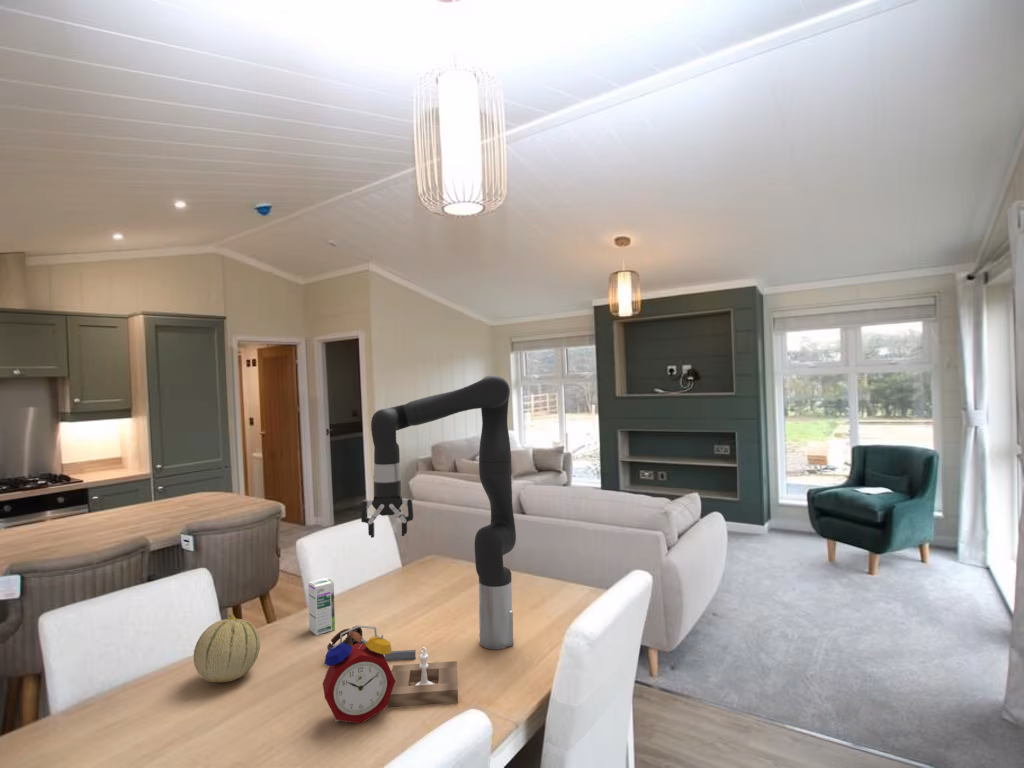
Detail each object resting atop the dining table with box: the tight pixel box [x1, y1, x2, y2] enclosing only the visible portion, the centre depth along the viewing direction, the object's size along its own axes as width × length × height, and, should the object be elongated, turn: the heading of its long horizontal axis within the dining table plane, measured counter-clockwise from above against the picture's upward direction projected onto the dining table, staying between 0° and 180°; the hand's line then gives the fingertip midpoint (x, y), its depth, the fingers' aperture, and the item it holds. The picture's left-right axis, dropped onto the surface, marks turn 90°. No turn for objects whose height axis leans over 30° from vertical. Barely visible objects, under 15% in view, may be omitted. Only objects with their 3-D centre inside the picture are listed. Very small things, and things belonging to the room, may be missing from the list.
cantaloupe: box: [193, 613, 261, 684], centre depth 136 cm, size 15×15×15 cm
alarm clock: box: [322, 624, 395, 724], centre depth 121 cm, size 15×9×20 cm, turn 114°
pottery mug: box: [326, 625, 365, 651], centre depth 148 cm, size 12×10×8 cm
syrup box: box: [307, 577, 336, 636], centre depth 163 cm, size 6×6×14 cm
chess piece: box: [414, 646, 434, 686], centre depth 130 cm, size 5×5×10 cm
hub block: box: [386, 660, 459, 709], centre depth 130 cm, size 16×13×3 cm
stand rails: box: [384, 649, 417, 672], centre depth 140 cm, size 8×11×2 cm
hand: (387, 536), depth 154 cm, fingers open, 8 cm apart
